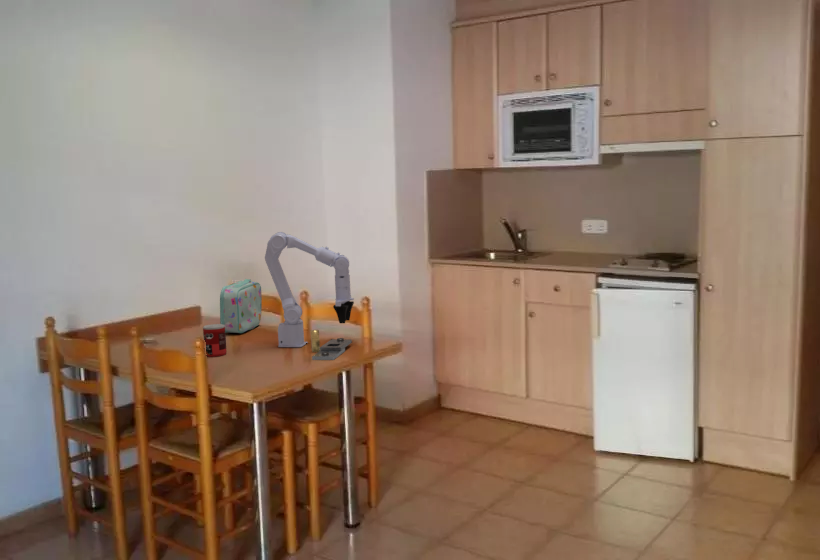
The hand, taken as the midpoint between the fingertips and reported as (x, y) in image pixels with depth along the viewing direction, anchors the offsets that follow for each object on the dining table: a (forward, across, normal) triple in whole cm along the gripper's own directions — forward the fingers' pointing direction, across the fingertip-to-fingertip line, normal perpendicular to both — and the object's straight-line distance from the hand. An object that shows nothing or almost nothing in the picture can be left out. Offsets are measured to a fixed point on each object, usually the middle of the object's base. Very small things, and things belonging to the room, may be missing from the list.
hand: (344, 321), depth 315 cm
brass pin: (+8, -15, +7) cm, 19 cm away
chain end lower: (+8, -21, 0) cm, 23 cm away
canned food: (+9, -22, +44) cm, 50 cm away
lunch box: (+9, +25, +54) cm, 60 cm away
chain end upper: (+7, -12, 0) cm, 14 cm away
